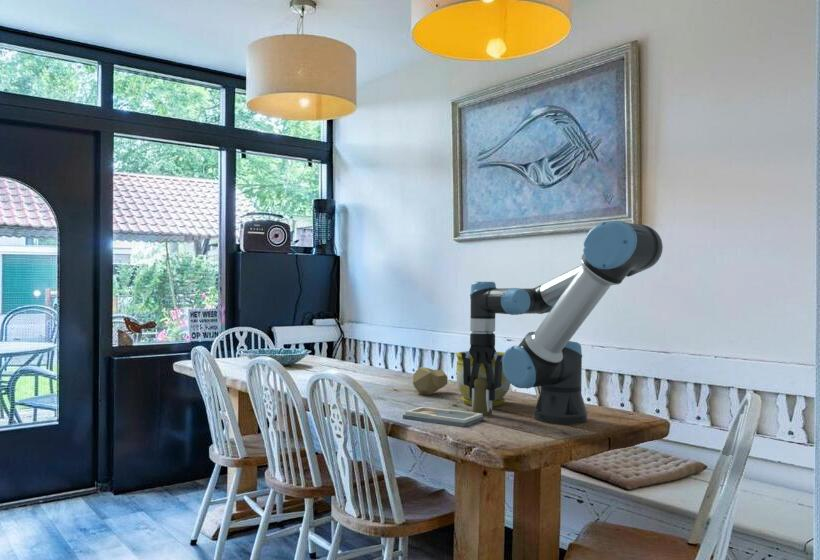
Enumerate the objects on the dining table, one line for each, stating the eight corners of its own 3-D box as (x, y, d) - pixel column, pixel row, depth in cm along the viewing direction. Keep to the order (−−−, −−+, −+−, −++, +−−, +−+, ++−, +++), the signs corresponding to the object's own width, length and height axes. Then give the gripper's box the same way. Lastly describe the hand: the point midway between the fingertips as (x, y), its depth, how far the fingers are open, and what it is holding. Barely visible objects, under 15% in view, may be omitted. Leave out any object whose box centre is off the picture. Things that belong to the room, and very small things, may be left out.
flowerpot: (468, 396, 224) (469, 349, 224) (518, 401, 215) (518, 352, 215) (447, 404, 208) (447, 354, 208) (499, 410, 199) (500, 357, 199)
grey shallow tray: (483, 419, 185) (483, 413, 185) (463, 427, 175) (463, 420, 175) (424, 411, 196) (424, 405, 196) (402, 418, 186) (402, 412, 186)
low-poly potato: (412, 398, 222) (441, 384, 219) (402, 369, 226) (430, 355, 224) (428, 403, 235) (455, 390, 232) (417, 376, 240) (444, 363, 237)
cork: (491, 416, 189) (491, 379, 189) (470, 415, 190) (471, 378, 191) (492, 412, 195) (493, 376, 195) (472, 411, 196) (473, 376, 197)
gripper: (513, 333, 192) (513, 411, 191) (463, 330, 201) (462, 405, 201) (503, 334, 185) (502, 415, 185) (451, 331, 195) (451, 408, 194)
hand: (481, 410), depth 193 cm, fingers closed on cork, 4 cm apart
